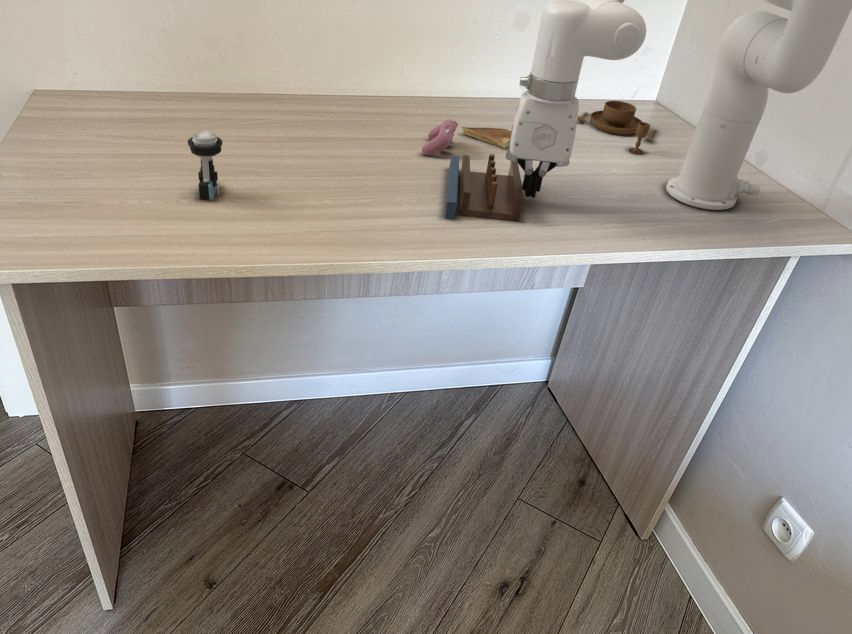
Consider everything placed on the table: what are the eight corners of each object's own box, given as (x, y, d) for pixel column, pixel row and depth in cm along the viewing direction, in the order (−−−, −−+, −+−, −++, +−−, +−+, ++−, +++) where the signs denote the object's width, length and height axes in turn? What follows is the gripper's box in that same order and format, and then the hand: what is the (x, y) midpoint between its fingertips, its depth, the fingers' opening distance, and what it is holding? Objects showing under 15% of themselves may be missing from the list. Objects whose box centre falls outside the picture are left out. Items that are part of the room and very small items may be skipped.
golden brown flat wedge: (460, 134, 145) (461, 125, 144) (480, 126, 150) (482, 118, 149) (503, 149, 140) (504, 141, 139) (522, 141, 145) (524, 132, 144)
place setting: (658, 128, 158) (666, 102, 155) (644, 155, 144) (652, 128, 140) (584, 111, 164) (590, 86, 160) (562, 136, 149) (569, 109, 145)
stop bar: (457, 171, 130) (459, 156, 128) (454, 219, 114) (456, 202, 112) (448, 170, 130) (451, 155, 128) (444, 218, 114) (446, 201, 112)
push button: (197, 182, 117) (191, 125, 111) (229, 184, 117) (225, 127, 111) (190, 200, 112) (184, 140, 106) (223, 201, 112) (219, 142, 106)
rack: (513, 182, 128) (519, 153, 124) (519, 221, 115) (525, 191, 112) (459, 176, 128) (464, 147, 125) (460, 215, 115) (464, 184, 112)
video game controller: (438, 166, 135) (458, 137, 130) (418, 152, 134) (438, 123, 130) (444, 148, 142) (464, 120, 138) (426, 135, 142) (445, 107, 137)
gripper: (506, 90, 106) (487, 199, 118) (602, 100, 106) (574, 208, 117) (504, 76, 112) (487, 181, 124) (596, 85, 112) (570, 189, 123)
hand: (529, 194), depth 120 cm, fingers closed
